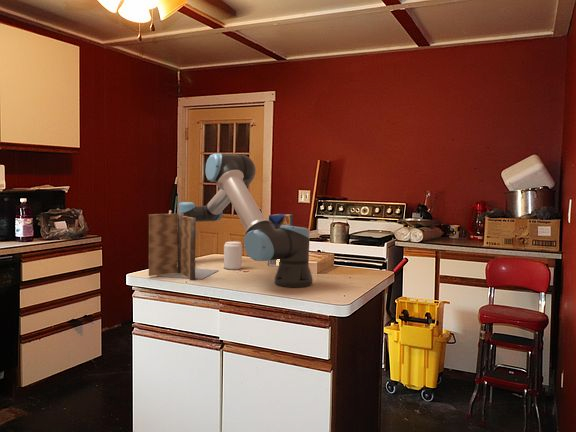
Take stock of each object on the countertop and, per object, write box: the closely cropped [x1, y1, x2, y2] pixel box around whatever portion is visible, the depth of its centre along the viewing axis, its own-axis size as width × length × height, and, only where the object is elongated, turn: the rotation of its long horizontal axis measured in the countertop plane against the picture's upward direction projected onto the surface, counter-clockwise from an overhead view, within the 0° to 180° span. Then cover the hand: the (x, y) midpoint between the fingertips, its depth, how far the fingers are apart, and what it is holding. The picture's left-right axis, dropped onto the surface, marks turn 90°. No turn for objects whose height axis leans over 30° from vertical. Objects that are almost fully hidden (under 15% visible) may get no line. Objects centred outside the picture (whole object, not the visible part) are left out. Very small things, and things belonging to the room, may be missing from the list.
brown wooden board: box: [148, 213, 178, 277], centre depth 215 cm, size 12×1×25 cm, turn 131°
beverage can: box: [223, 241, 243, 271], centre depth 237 cm, size 8×8×12 cm
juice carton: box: [267, 213, 294, 267], centre depth 250 cm, size 12×8×24 cm, turn 158°
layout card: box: [155, 268, 219, 280], centre depth 223 cm, size 20×20×1 cm
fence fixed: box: [177, 212, 197, 281], centre depth 215 cm, size 16×2×26 cm, turn 33°
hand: (153, 244), depth 214 cm, fingers closed
